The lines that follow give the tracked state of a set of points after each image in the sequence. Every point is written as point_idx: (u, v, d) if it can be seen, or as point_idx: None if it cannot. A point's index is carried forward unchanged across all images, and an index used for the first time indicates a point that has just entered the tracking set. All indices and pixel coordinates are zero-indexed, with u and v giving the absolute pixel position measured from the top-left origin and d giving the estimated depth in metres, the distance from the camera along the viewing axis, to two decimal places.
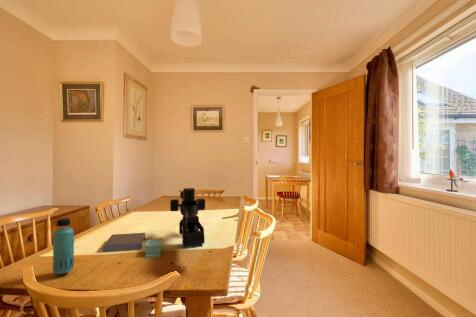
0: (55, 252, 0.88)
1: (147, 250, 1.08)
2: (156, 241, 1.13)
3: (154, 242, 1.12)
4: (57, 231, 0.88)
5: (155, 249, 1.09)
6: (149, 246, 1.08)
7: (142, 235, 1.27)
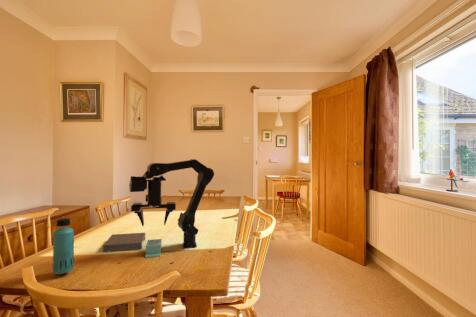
0: (55, 252, 0.88)
1: (147, 250, 1.08)
2: (156, 241, 1.13)
3: (154, 242, 1.12)
4: (57, 231, 0.88)
5: (155, 249, 1.09)
6: (149, 246, 1.08)
7: (142, 235, 1.27)
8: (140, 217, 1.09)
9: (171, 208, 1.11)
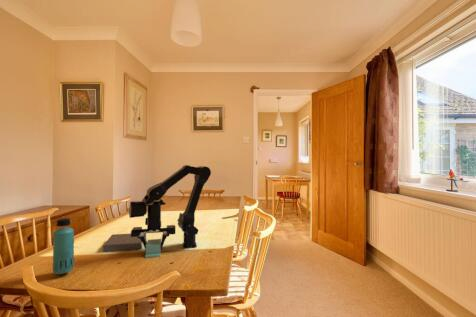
0: (55, 252, 0.88)
1: (147, 250, 1.08)
2: (156, 241, 1.13)
3: (154, 242, 1.12)
4: (57, 231, 0.88)
5: (155, 249, 1.09)
6: (149, 246, 1.08)
7: None
8: (143, 242, 1.09)
9: (171, 232, 1.11)
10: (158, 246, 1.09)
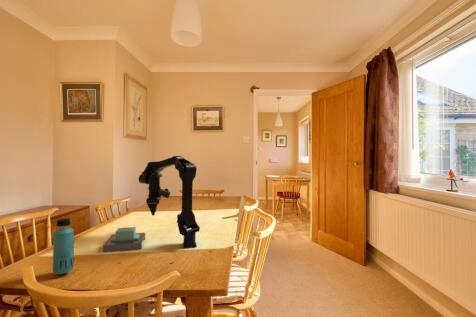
0: (55, 252, 0.88)
1: None
2: (126, 229, 1.21)
3: (124, 229, 1.21)
4: (57, 231, 0.88)
5: None
6: None
7: (142, 235, 1.27)
8: None
9: None
10: None
